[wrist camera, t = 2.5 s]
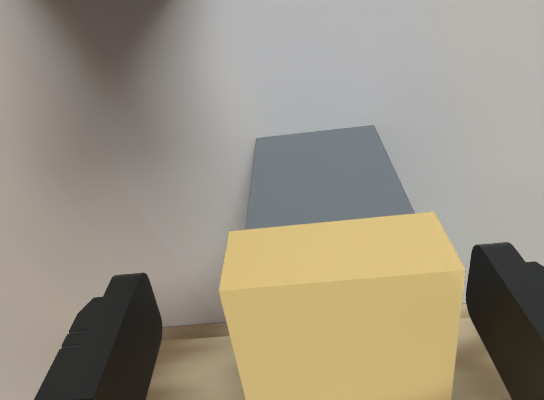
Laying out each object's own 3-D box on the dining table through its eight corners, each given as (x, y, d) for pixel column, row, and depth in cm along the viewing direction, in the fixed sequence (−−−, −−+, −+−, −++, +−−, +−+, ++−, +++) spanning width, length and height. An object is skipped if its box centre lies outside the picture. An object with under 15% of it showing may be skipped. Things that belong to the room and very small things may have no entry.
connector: (382, 115, 15) (465, 269, 8) (383, 229, 18) (448, 422, 11) (246, 131, 16) (218, 291, 9) (264, 240, 18) (253, 434, 11)
